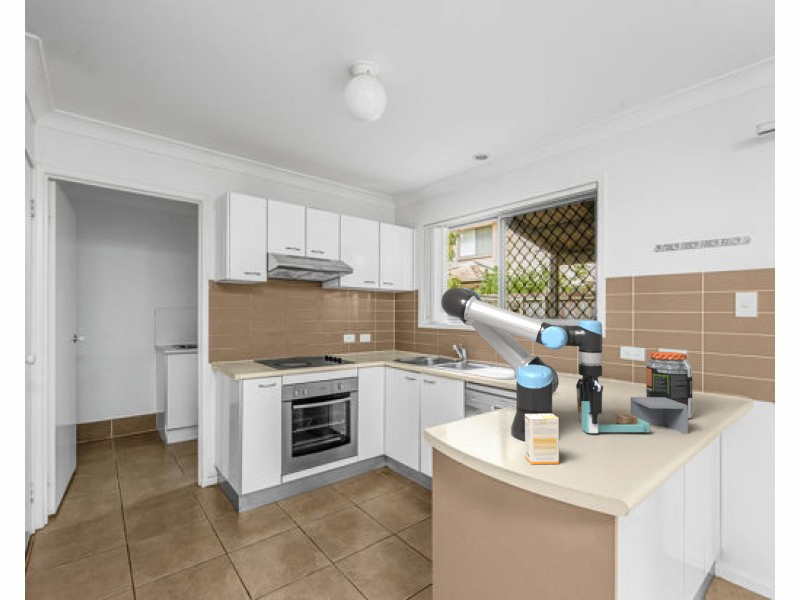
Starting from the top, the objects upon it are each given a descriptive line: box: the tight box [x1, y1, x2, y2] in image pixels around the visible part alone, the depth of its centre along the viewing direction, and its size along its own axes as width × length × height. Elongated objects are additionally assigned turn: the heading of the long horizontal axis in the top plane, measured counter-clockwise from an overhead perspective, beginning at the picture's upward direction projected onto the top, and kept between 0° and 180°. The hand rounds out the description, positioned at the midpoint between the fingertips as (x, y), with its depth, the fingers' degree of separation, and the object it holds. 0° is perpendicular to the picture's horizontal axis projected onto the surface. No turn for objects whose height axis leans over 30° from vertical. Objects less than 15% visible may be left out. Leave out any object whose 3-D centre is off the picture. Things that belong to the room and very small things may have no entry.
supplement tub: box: [645, 351, 694, 419], centre depth 160 cm, size 16×16×26 cm
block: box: [615, 413, 638, 425], centre depth 140 cm, size 5×5×5 cm
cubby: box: [630, 396, 689, 435], centre depth 142 cm, size 13×12×10 cm
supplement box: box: [524, 413, 560, 465], centre depth 110 cm, size 8×5×13 cm, turn 92°
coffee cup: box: [575, 380, 582, 422], centre depth 151 cm, size 8×8×15 cm
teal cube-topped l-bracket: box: [581, 401, 651, 434], centre depth 139 cm, size 22×11×10 cm, turn 89°
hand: (590, 430), depth 136 cm, fingers closed on teal cube-topped l-bracket, 4 cm apart
